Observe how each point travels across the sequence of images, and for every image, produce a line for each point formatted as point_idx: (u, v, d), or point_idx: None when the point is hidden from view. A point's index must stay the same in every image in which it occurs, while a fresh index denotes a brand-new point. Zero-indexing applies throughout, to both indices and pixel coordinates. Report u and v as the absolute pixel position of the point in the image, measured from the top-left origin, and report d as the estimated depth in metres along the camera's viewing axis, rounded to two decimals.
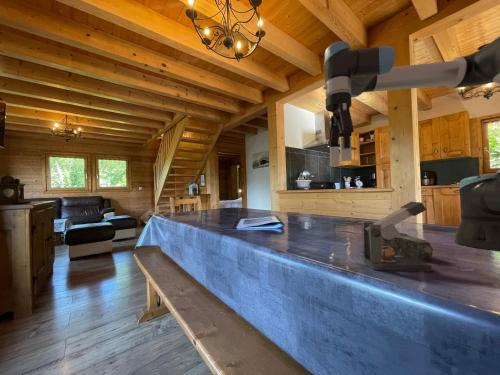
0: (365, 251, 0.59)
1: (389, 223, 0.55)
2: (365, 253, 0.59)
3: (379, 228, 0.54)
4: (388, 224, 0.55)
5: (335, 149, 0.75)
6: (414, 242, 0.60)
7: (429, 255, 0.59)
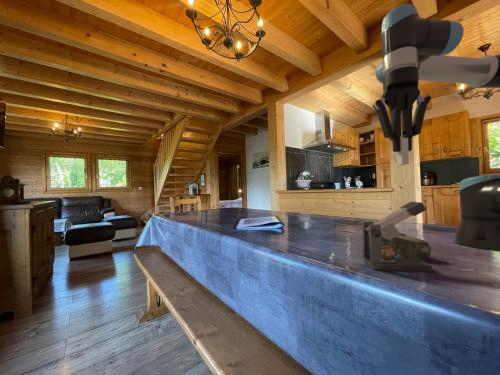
0: (365, 251, 0.59)
1: (389, 223, 0.55)
2: (365, 253, 0.59)
3: (379, 228, 0.54)
4: (388, 224, 0.55)
5: None
6: (412, 242, 0.60)
7: (427, 255, 0.59)
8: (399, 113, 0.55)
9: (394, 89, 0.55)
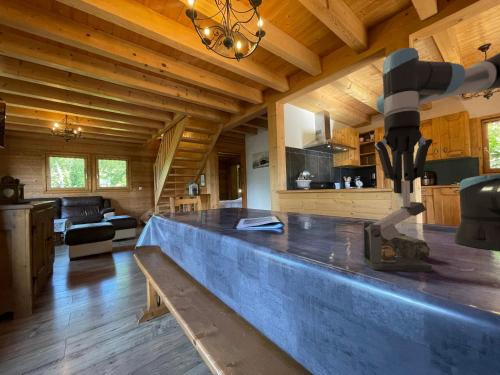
0: (365, 251, 0.59)
1: (389, 223, 0.55)
2: (365, 253, 0.59)
3: (379, 228, 0.54)
4: (388, 224, 0.55)
5: None
6: (410, 242, 0.60)
7: (426, 255, 0.59)
8: (400, 155, 0.55)
9: (395, 131, 0.55)
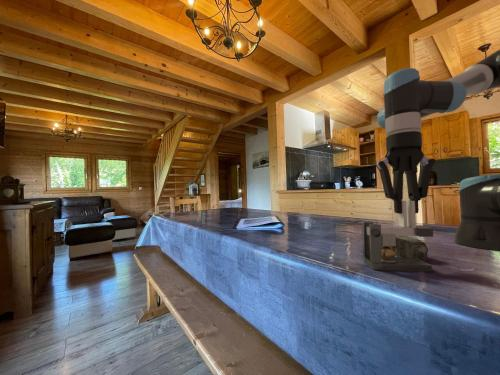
0: (365, 251, 0.59)
1: (392, 232, 0.55)
2: (365, 253, 0.59)
3: (379, 228, 0.54)
4: (390, 232, 0.55)
5: (409, 204, 0.55)
6: (409, 242, 0.60)
7: (424, 255, 0.60)
8: (402, 176, 0.55)
9: (398, 151, 0.55)
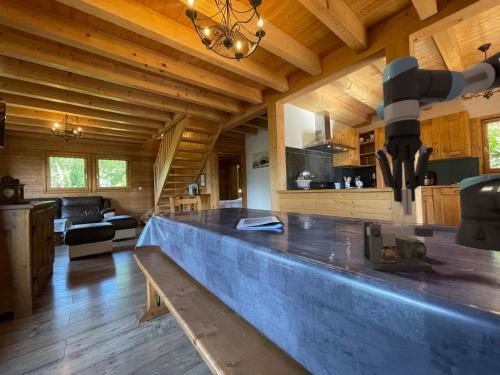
0: (365, 251, 0.59)
1: (392, 232, 0.55)
2: (365, 253, 0.59)
3: (379, 228, 0.54)
4: (390, 232, 0.55)
5: None
6: (407, 241, 0.61)
7: (423, 255, 0.60)
8: (401, 164, 0.55)
9: (396, 140, 0.55)
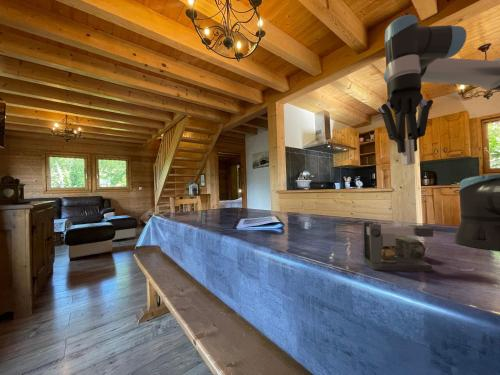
0: (365, 251, 0.59)
1: (392, 232, 0.55)
2: (365, 253, 0.59)
3: (379, 228, 0.54)
4: (390, 232, 0.55)
5: None
6: (406, 242, 0.61)
7: (421, 255, 0.60)
8: (403, 116, 0.59)
9: (399, 94, 0.59)
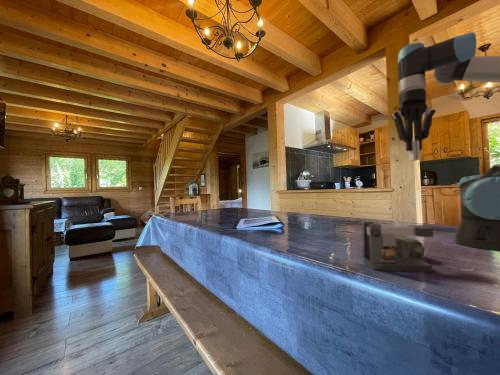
0: (365, 251, 0.59)
1: (392, 232, 0.55)
2: (365, 253, 0.59)
3: (379, 228, 0.54)
4: (390, 232, 0.55)
5: None
6: (405, 242, 0.61)
7: (420, 255, 0.60)
8: (411, 122, 0.74)
9: (408, 104, 0.75)
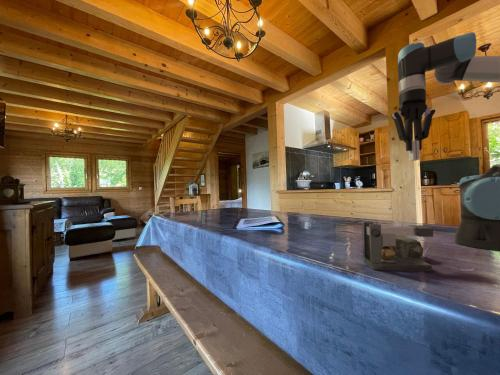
0: (365, 251, 0.59)
1: (392, 232, 0.55)
2: (365, 253, 0.59)
3: (379, 228, 0.54)
4: (390, 232, 0.55)
5: None
6: (404, 241, 0.61)
7: (419, 255, 0.60)
8: (411, 122, 0.74)
9: (408, 104, 0.75)
